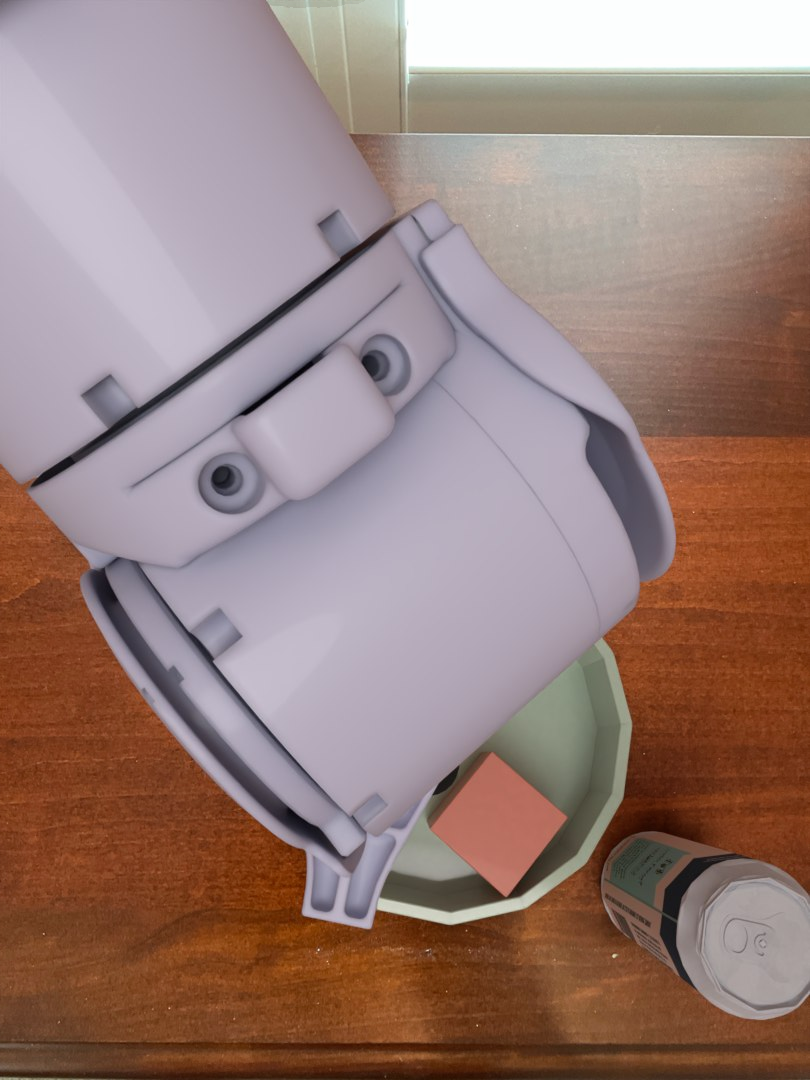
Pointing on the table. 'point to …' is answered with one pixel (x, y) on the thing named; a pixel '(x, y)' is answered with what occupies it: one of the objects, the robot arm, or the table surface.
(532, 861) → the block coral
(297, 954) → the table surface
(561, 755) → the dish
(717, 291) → the table surface
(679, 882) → the beer can
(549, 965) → the table surface
